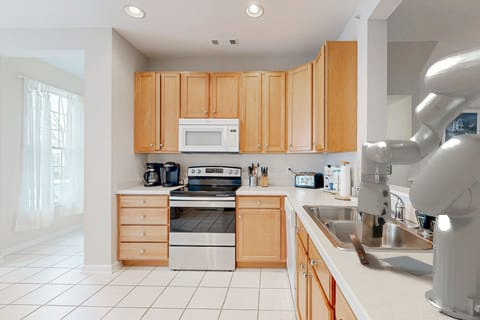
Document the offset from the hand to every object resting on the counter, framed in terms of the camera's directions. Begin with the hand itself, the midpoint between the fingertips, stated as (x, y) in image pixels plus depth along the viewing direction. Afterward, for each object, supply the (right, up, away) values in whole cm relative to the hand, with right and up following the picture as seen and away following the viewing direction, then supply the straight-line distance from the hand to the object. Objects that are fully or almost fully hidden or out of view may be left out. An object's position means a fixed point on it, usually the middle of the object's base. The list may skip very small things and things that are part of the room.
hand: (372, 234), depth 90 cm
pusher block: (0, -3, 0) cm, 3 cm away
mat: (+12, -10, -1) cm, 16 cm away
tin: (-1, -10, +5) cm, 11 cm away
